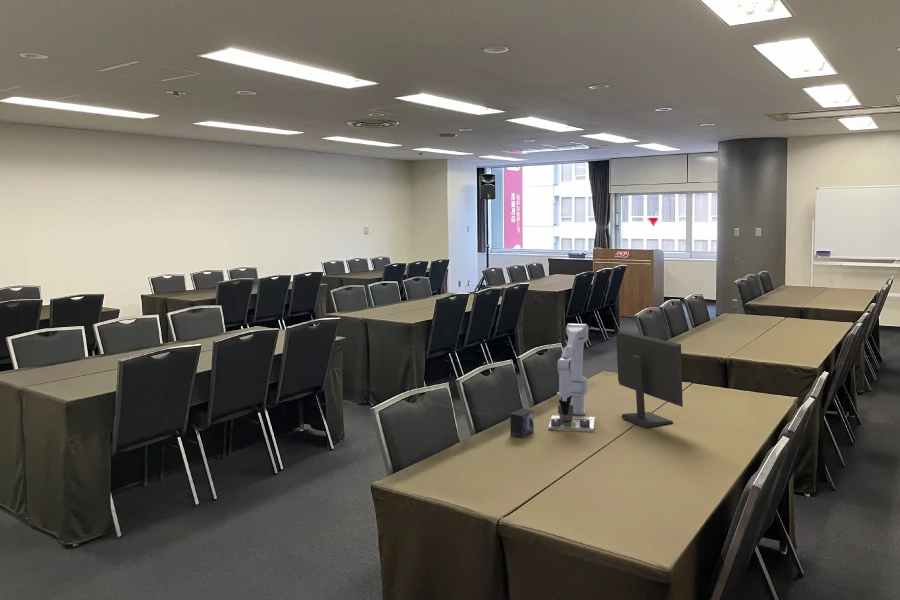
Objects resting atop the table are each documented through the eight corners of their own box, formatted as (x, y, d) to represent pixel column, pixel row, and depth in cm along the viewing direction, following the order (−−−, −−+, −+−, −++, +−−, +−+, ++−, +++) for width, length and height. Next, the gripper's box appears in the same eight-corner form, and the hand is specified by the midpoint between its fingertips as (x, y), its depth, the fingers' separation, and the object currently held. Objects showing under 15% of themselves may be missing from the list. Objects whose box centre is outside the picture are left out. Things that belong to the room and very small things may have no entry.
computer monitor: (693, 431, 298) (694, 342, 293) (663, 436, 292) (664, 346, 288) (632, 407, 338) (632, 328, 334) (605, 411, 333) (605, 331, 328)
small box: (522, 438, 295) (522, 415, 294) (509, 436, 299) (509, 413, 298) (534, 432, 304) (534, 409, 302) (522, 430, 308) (521, 407, 306)
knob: (558, 417, 319) (558, 403, 318) (584, 418, 316) (584, 403, 315) (557, 421, 313) (557, 406, 312) (584, 422, 310) (583, 407, 310)
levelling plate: (552, 418, 324) (552, 410, 323) (594, 420, 319) (594, 412, 319) (548, 429, 307) (548, 421, 306) (593, 431, 302) (593, 423, 301)
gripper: (558, 380, 321) (558, 407, 323) (555, 387, 307) (555, 416, 309) (573, 380, 320) (573, 408, 321) (571, 387, 306) (571, 416, 307)
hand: (565, 412), depth 315 cm, fingers open, 7 cm apart
